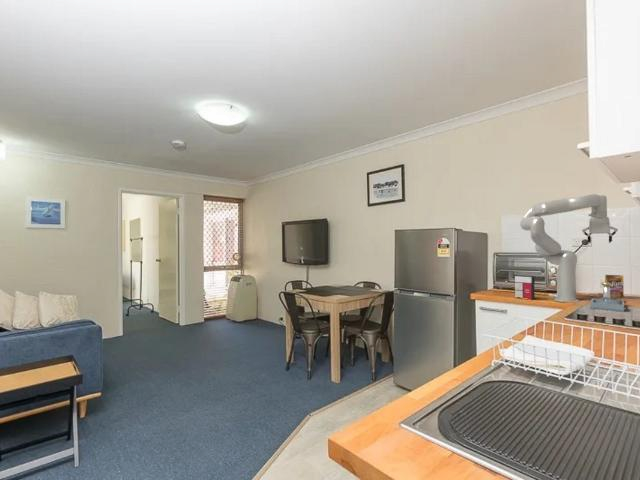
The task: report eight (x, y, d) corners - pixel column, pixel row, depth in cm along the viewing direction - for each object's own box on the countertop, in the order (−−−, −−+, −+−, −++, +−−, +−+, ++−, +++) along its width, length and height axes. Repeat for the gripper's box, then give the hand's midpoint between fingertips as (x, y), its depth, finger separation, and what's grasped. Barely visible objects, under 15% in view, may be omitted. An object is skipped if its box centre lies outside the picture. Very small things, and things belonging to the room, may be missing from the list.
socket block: (597, 303, 207) (597, 294, 207) (598, 301, 215) (598, 293, 215) (619, 305, 200) (619, 296, 201) (619, 302, 208) (619, 294, 208)
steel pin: (601, 306, 193) (600, 283, 193) (601, 305, 196) (601, 282, 196) (612, 307, 190) (611, 283, 190) (612, 306, 193) (612, 282, 193)
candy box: (605, 298, 225) (605, 275, 225) (605, 297, 228) (604, 274, 229) (623, 299, 220) (623, 275, 220) (622, 298, 223) (622, 275, 224)
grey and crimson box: (514, 298, 229) (513, 275, 229) (517, 297, 231) (516, 275, 232) (532, 300, 220) (531, 276, 220) (535, 299, 223) (534, 276, 223)
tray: (590, 308, 191) (590, 302, 191) (592, 304, 204) (592, 298, 204) (623, 311, 181) (623, 305, 181) (624, 306, 195) (624, 300, 195)
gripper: (581, 215, 218) (581, 243, 218) (617, 214, 207) (617, 242, 207) (582, 216, 224) (583, 242, 224) (617, 214, 212) (618, 242, 212)
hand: (599, 242), depth 215 cm, fingers open, 9 cm apart
